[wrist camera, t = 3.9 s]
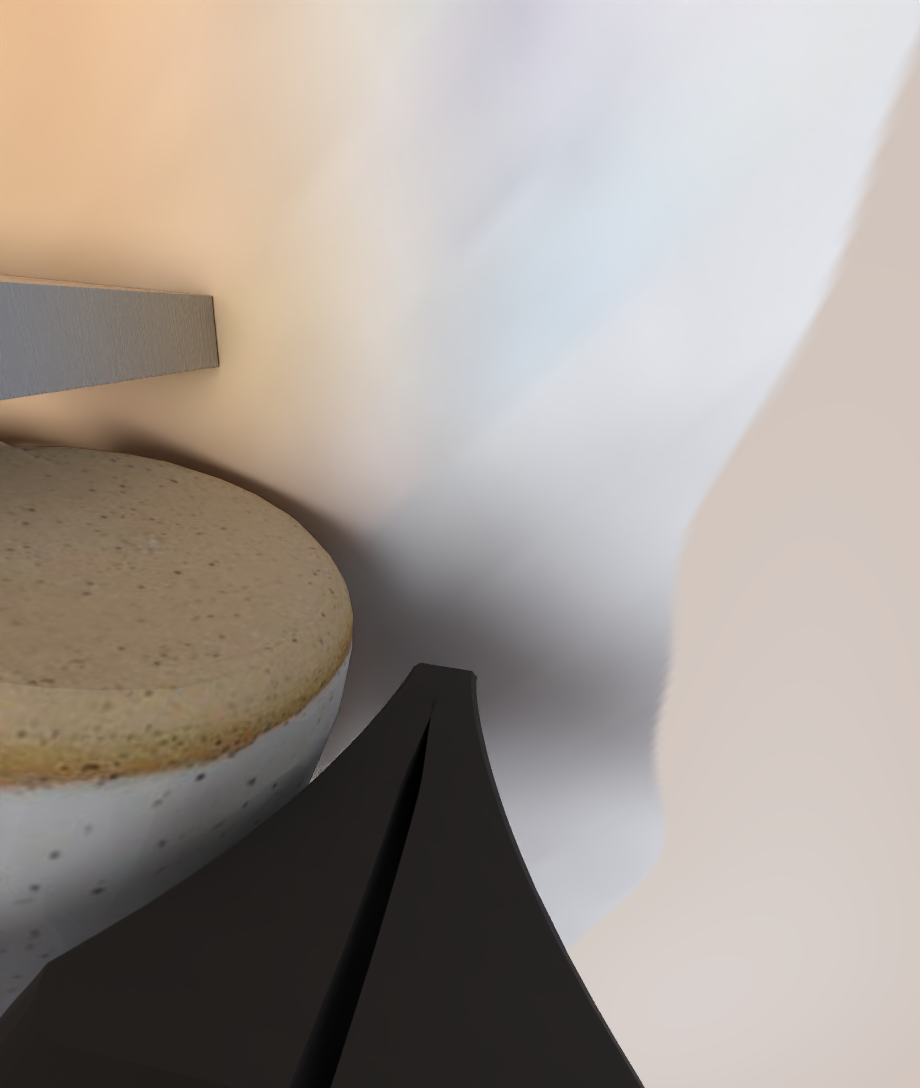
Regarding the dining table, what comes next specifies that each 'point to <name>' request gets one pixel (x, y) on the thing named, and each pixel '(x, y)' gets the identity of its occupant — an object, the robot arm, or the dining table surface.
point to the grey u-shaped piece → (97, 334)
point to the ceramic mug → (146, 684)
